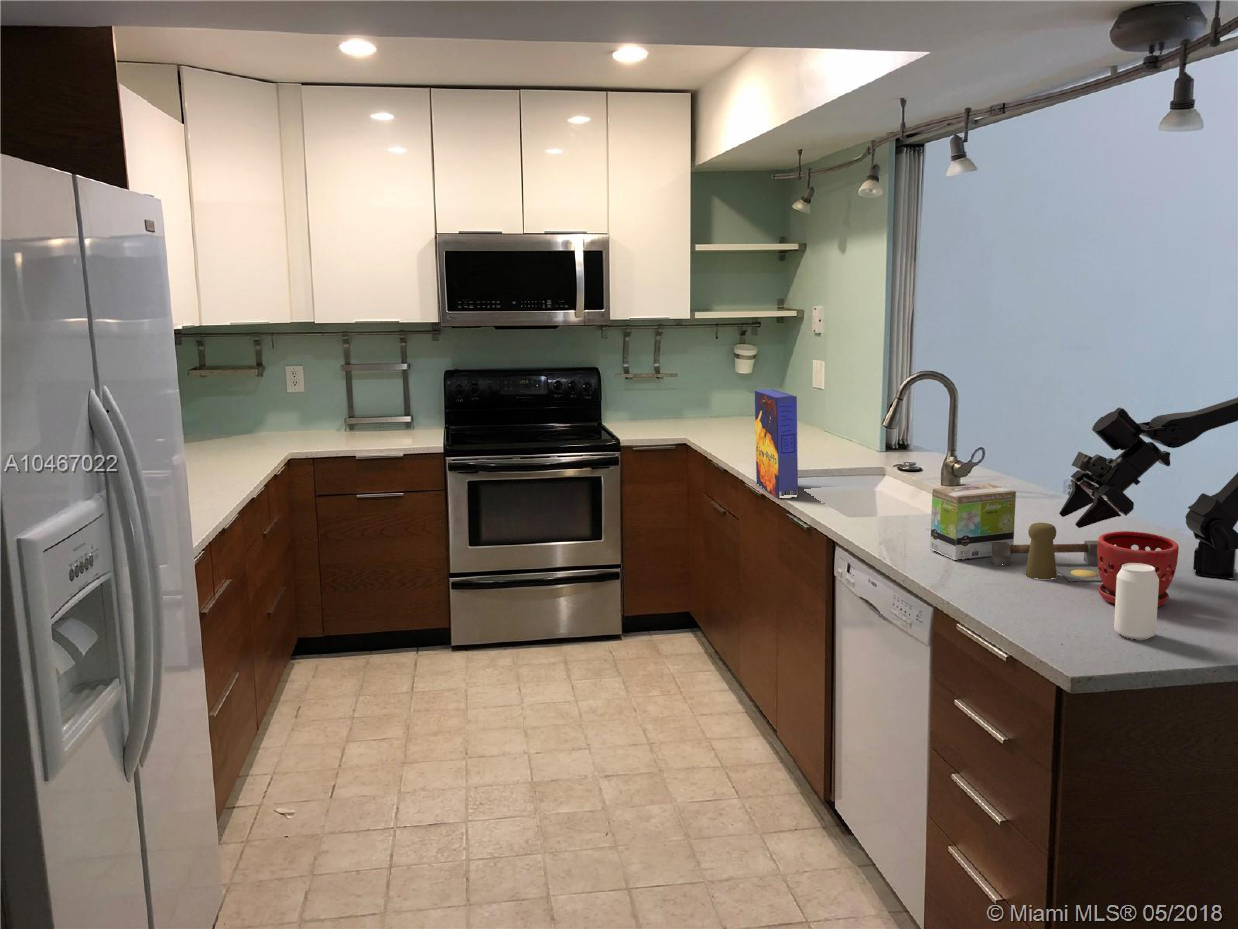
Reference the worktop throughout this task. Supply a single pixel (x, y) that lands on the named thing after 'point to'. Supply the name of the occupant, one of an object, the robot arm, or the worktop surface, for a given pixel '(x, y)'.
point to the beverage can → (1136, 601)
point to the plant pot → (1135, 559)
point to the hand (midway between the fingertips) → (1068, 520)
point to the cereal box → (776, 442)
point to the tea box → (971, 519)
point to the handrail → (1089, 548)
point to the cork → (1041, 552)
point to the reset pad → (1080, 574)
